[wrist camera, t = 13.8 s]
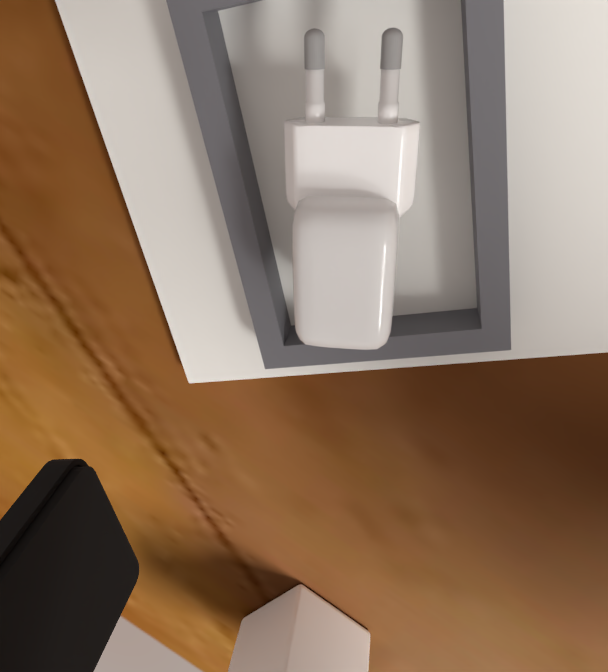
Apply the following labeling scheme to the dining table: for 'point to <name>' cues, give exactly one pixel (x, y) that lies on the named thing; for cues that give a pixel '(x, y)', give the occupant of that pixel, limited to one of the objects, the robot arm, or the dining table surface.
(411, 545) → the dining table surface
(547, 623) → the dining table surface
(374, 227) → the power adapter
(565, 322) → the charging board
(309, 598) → the medicine bottle
